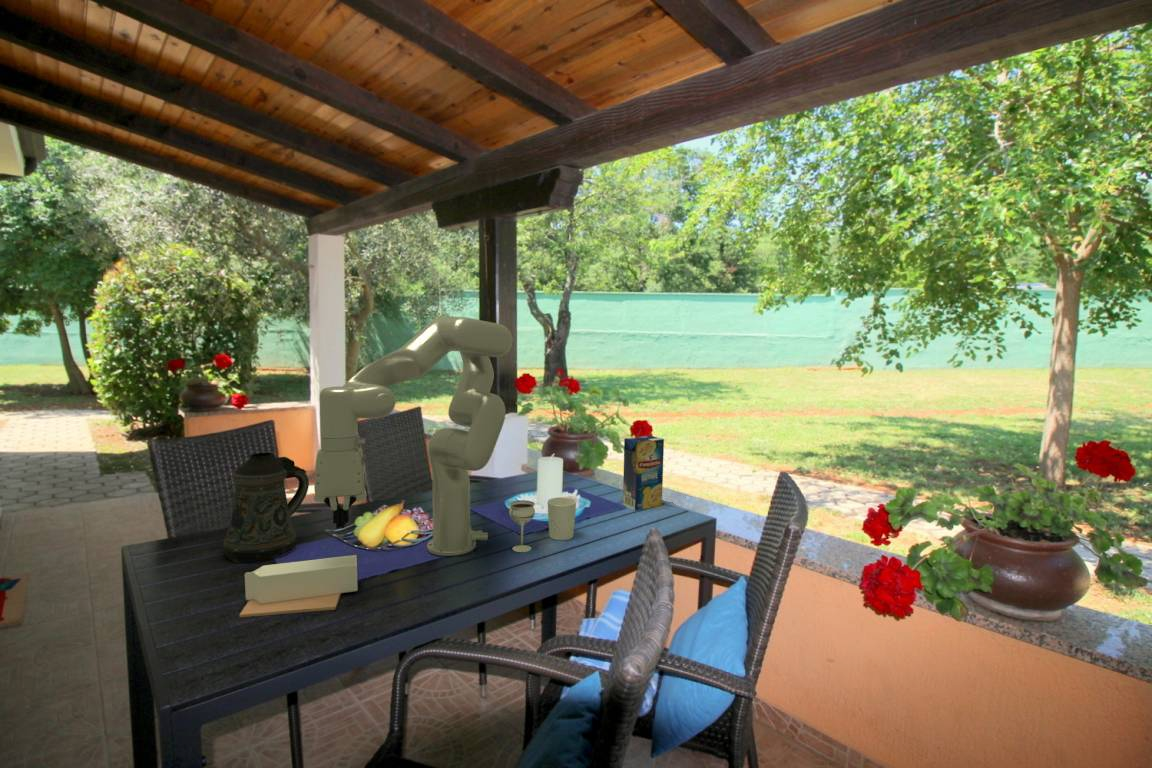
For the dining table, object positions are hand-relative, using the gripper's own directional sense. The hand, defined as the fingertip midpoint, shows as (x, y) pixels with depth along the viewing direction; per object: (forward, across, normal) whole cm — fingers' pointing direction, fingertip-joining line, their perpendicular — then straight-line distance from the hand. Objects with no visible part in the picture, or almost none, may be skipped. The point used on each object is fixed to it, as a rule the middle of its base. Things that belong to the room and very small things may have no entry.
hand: (341, 526), depth 132 cm
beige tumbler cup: (+14, -54, -23) cm, 60 cm away
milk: (+11, -3, 0) cm, 11 cm away
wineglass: (+14, -42, -16) cm, 47 cm away
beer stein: (+14, +23, -28) cm, 39 cm away
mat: (+14, +9, 0) cm, 17 cm away
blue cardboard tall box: (+14, -86, -46) cm, 98 cm away
